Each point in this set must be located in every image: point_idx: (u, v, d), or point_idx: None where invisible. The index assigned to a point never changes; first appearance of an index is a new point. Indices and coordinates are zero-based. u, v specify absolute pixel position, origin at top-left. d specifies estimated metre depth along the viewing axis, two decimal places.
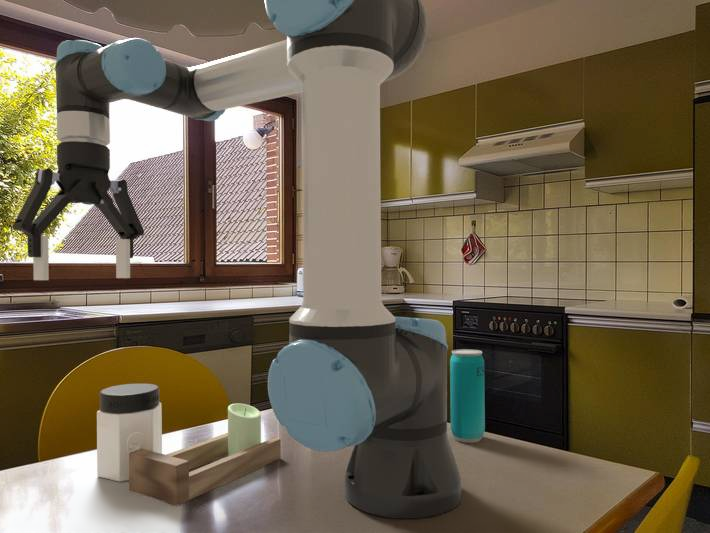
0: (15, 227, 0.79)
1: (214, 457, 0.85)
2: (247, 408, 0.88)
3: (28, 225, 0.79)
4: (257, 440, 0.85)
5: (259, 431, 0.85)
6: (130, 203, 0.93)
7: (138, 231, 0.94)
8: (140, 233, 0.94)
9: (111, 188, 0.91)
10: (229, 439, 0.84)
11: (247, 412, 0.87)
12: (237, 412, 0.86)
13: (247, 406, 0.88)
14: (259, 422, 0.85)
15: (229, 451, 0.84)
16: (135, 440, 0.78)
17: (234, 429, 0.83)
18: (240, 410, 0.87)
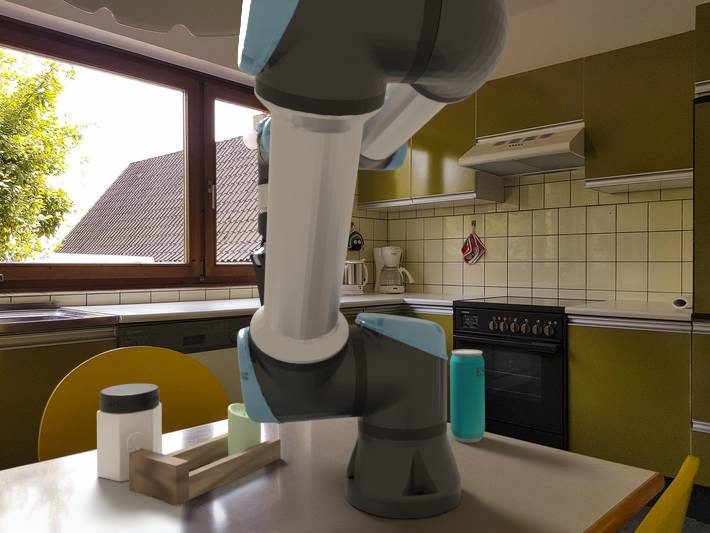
0: None
1: (214, 457, 0.85)
2: None
3: None
4: (257, 440, 0.85)
5: (259, 431, 0.85)
6: None
7: None
8: None
9: None
10: (229, 439, 0.84)
11: None
12: (237, 412, 0.86)
13: None
14: None
15: (229, 451, 0.84)
16: (135, 440, 0.78)
17: (234, 429, 0.83)
18: (240, 410, 0.87)
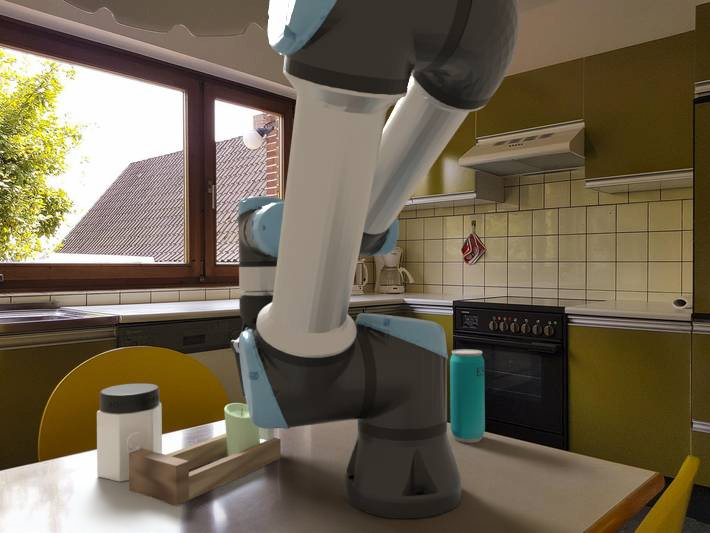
0: None
1: (214, 457, 0.85)
2: (244, 407, 0.87)
3: None
4: (256, 439, 0.84)
5: (257, 430, 0.85)
6: None
7: None
8: None
9: None
10: (227, 440, 0.84)
11: (244, 411, 0.87)
12: (234, 412, 0.86)
13: (244, 405, 0.87)
14: None
15: (228, 451, 0.84)
16: (135, 441, 0.78)
17: (232, 430, 0.83)
18: (237, 410, 0.86)
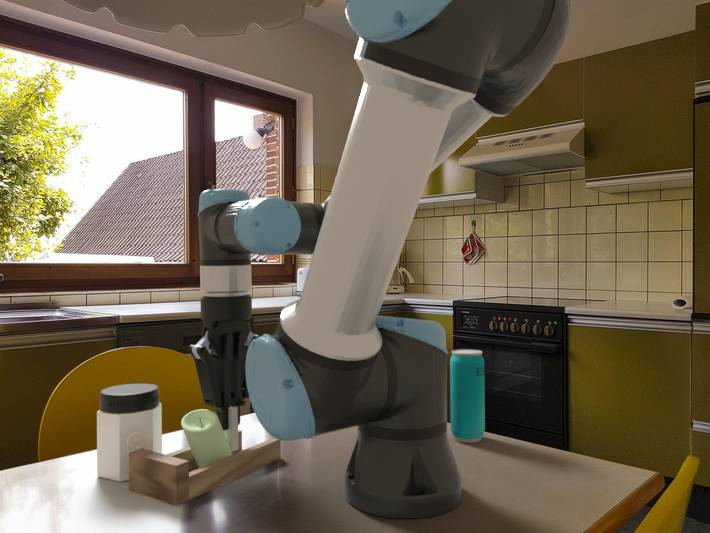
0: (207, 404, 0.81)
1: None
2: (204, 413, 0.81)
3: (220, 401, 0.80)
4: (221, 446, 0.79)
5: (221, 436, 0.79)
6: None
7: (246, 392, 0.85)
8: (246, 395, 0.85)
9: None
10: (192, 452, 0.79)
11: (204, 418, 0.80)
12: (193, 422, 0.80)
13: (203, 411, 0.81)
14: (218, 428, 0.79)
15: (196, 462, 0.80)
16: (135, 440, 0.78)
17: (193, 444, 0.78)
18: (196, 418, 0.80)
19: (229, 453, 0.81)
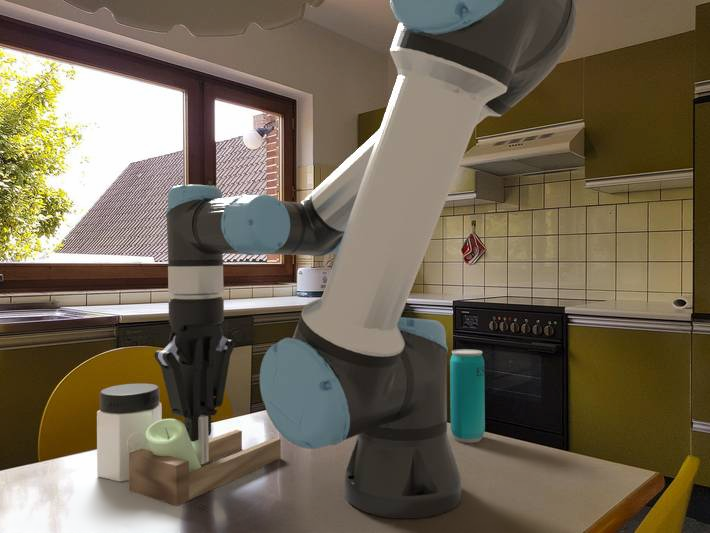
0: (175, 414, 0.76)
1: (214, 457, 0.85)
2: (171, 423, 0.76)
3: (188, 411, 0.76)
4: (188, 459, 0.74)
5: (188, 449, 0.74)
6: (226, 367, 0.82)
7: (217, 400, 0.80)
8: (218, 403, 0.80)
9: None
10: None
11: (171, 429, 0.76)
12: (159, 433, 0.75)
13: (171, 421, 0.76)
14: (185, 440, 0.74)
15: None
16: (135, 440, 0.78)
17: None
18: (163, 428, 0.75)
19: (197, 466, 0.76)
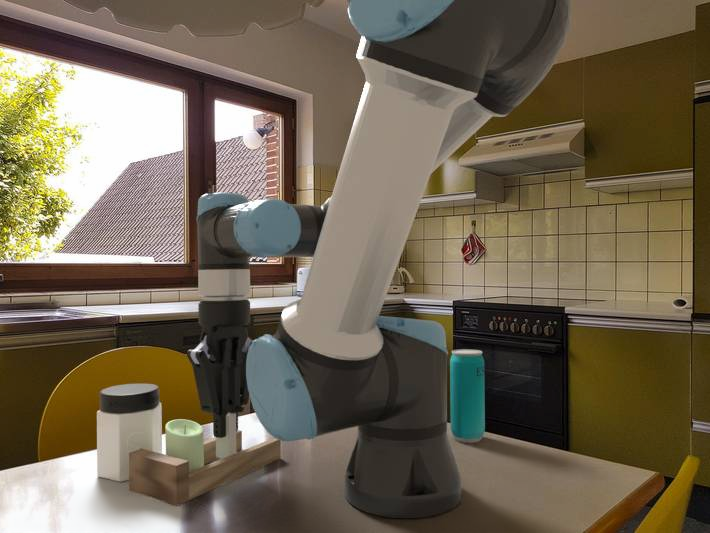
0: (204, 411, 0.79)
1: (214, 457, 0.85)
2: (190, 425, 0.78)
3: (218, 408, 0.79)
4: (197, 461, 0.75)
5: (200, 451, 0.76)
6: None
7: (243, 398, 0.84)
8: (244, 401, 0.84)
9: (243, 344, 0.86)
10: None
11: (189, 429, 0.78)
12: (177, 429, 0.77)
13: (191, 422, 0.79)
14: (199, 441, 0.76)
15: None
16: (135, 440, 0.78)
17: (170, 449, 0.74)
18: (182, 427, 0.78)
19: None
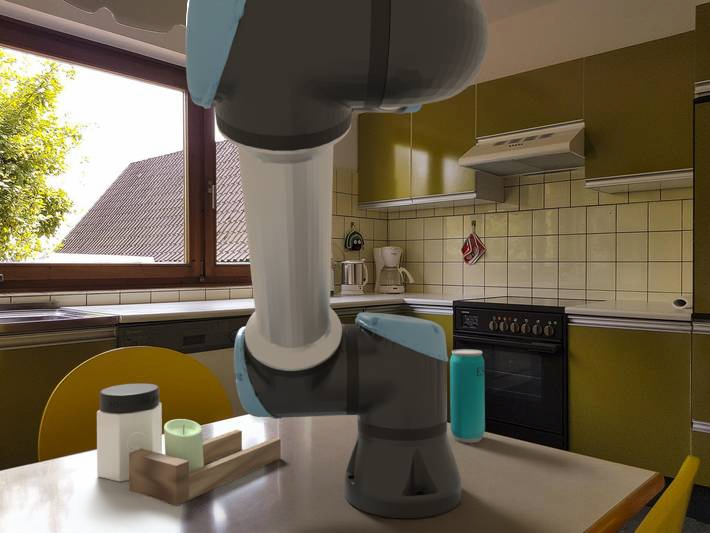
0: None
1: (214, 457, 0.85)
2: (190, 424, 0.78)
3: None
4: (195, 461, 0.75)
5: (198, 451, 0.76)
6: None
7: None
8: None
9: None
10: None
11: (189, 429, 0.78)
12: (176, 429, 0.77)
13: (190, 422, 0.78)
14: (198, 441, 0.76)
15: None
16: (135, 440, 0.78)
17: (168, 449, 0.74)
18: (181, 427, 0.78)
19: None
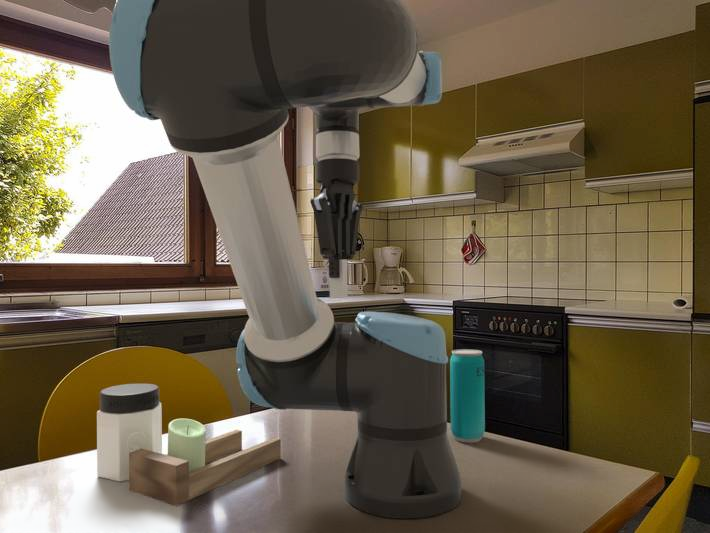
0: (323, 253, 0.93)
1: (214, 457, 0.85)
2: (194, 425, 0.78)
3: (335, 250, 0.92)
4: (196, 462, 0.75)
5: (200, 452, 0.76)
6: (357, 224, 0.99)
7: (352, 249, 0.97)
8: (352, 252, 0.97)
9: None
10: None
11: (193, 429, 0.78)
12: (180, 428, 0.77)
13: (195, 422, 0.79)
14: (201, 442, 0.76)
15: None
16: (135, 440, 0.78)
17: (171, 448, 0.75)
18: (186, 426, 0.78)
19: None
